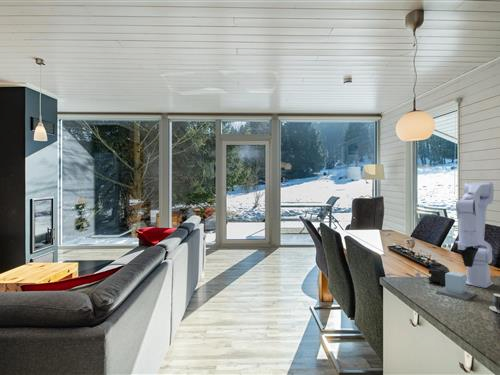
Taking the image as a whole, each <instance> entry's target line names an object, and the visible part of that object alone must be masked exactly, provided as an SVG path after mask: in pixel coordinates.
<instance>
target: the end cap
mask: <svg viewBox="0 0 500 375" xmlns="http://www.w3.org/2000/svg"><path fill="white" fill-rule="evenodd" d="M450 271H451V270H449V267H447V266H446V265H443V264H441V265H440V266H439V265H432V264H431V265H430V266H429V268H428V274H429V275H430V276H428V281H429V282H428V284H429V285H435V286H443V285H445V274H446V273H448V272H450Z"/></svg>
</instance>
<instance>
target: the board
mask: <svg viewBox="0 0 500 375" xmlns="http://www.w3.org/2000/svg"><path fill="white" fill-rule="evenodd" d="M435 291H436V294H438V295H441V296H446V297H450V298H455V299H460V300H463V301H468V300H469V299H471V298H473V297H475V296H476V295H477V291H476V290H469V289H466V292H465V293H463V294H457V293H453V292H448V291H446V286H443V287H442V288H439V289H437V290H435Z"/></svg>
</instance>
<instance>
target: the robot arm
mask: <svg viewBox="0 0 500 375" xmlns="http://www.w3.org/2000/svg"><path fill="white" fill-rule="evenodd" d="M494 188H495V187H494V183H493V182H492V181H490V182H488V181H487V182H466V183H464V186H463V190H464V192H463V193H464V194H463V196H462V198H461V199H459V200H457V201H456V202H455V211H456V218H457V220H458V226H457V227H458V240H455V244H457V251H458V252H459V253H460V255H461V258H462V261H463V262H462V263H463V265H464V267H466V285H470V286H473V287H479V288H484V289H486V288H488V287H490V286H492V285H493V284H494V283H493V282H491V268H490V265H489V264H491V263H492V262H493V247H492V245H491V244H490V243H489V242H487V241H486V240H485V230H486V216H487V215H486V214H487V209H488V206H489V205H491V204H492V203H493V201H494Z"/></svg>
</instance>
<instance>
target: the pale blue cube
mask: <svg viewBox="0 0 500 375" xmlns="http://www.w3.org/2000/svg"><path fill="white" fill-rule="evenodd" d="M449 271H450V272H448V273H446V274H445V284H444V285H445V286H446V291H448V292H453V293H457V294H463V293H465V292H466V290H467V284H466V281H467V273H461V272H456V271H451V270H449ZM445 286H444V287H445Z"/></svg>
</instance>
